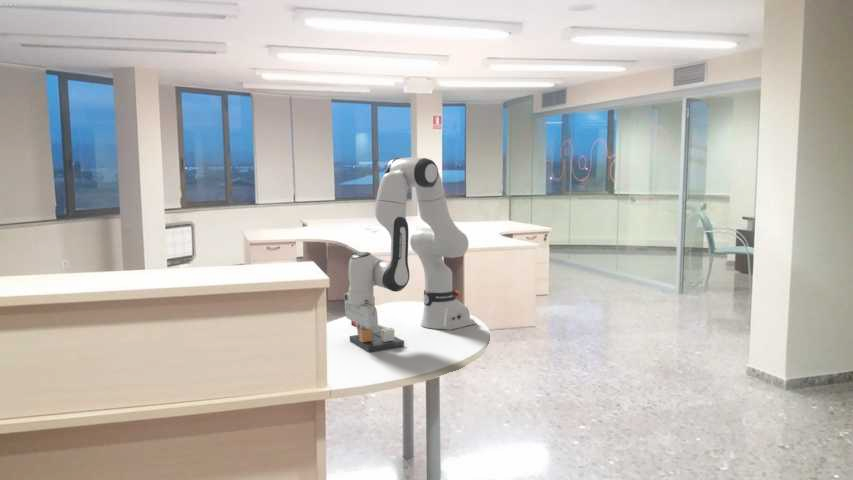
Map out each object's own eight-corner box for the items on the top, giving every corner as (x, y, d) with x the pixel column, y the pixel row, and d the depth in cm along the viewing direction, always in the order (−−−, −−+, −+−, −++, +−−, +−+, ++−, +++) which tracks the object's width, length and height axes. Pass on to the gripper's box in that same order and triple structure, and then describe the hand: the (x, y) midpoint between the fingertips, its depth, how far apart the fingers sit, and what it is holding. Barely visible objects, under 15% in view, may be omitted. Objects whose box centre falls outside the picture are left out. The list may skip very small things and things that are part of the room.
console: (383, 336, 245) (383, 330, 245) (404, 346, 232) (404, 340, 231) (349, 341, 238) (349, 335, 238) (368, 352, 225) (368, 346, 224)
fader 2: (391, 338, 234) (391, 327, 233) (394, 340, 231) (394, 329, 231) (381, 340, 231) (381, 328, 231) (384, 341, 229) (384, 330, 229)
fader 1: (369, 339, 233) (369, 327, 232) (372, 340, 231) (372, 329, 230) (359, 340, 231) (359, 329, 230) (362, 342, 229) (362, 330, 228)
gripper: (382, 302, 225) (382, 341, 226) (357, 292, 242) (357, 328, 244) (365, 304, 221) (365, 343, 223) (341, 293, 239) (342, 330, 241)
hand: (361, 335), depth 234 cm, fingers closed
